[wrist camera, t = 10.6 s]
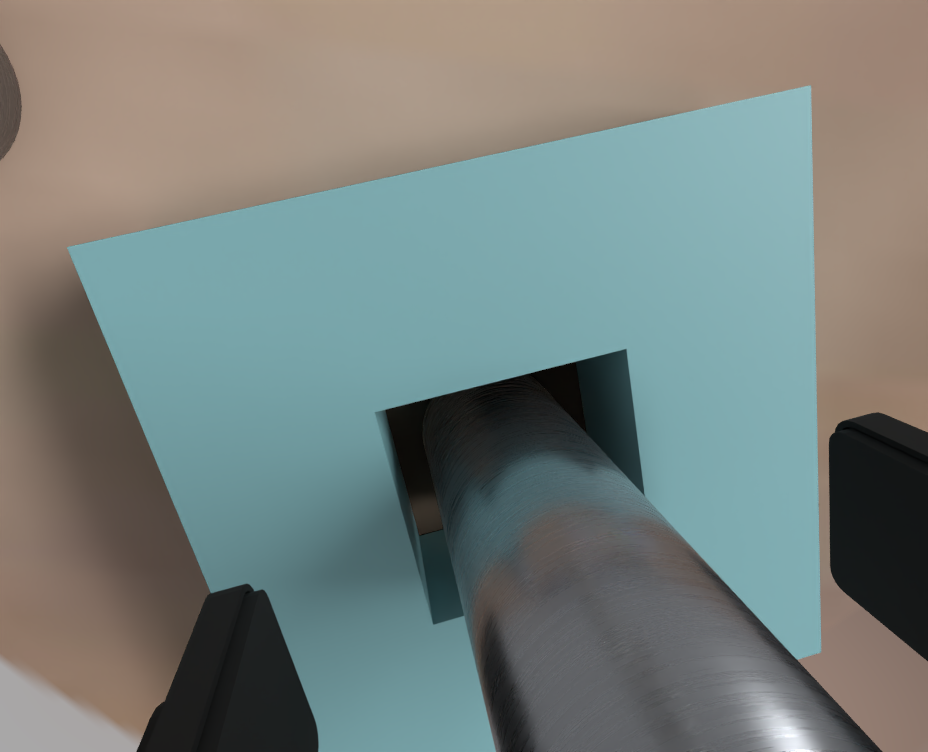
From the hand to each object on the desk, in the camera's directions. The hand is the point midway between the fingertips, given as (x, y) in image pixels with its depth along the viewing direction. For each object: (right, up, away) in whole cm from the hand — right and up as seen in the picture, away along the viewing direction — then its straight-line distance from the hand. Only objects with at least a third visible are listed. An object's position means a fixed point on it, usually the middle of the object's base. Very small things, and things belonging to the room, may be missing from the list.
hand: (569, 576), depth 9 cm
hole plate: (-1, +2, +6) cm, 6 cm away
